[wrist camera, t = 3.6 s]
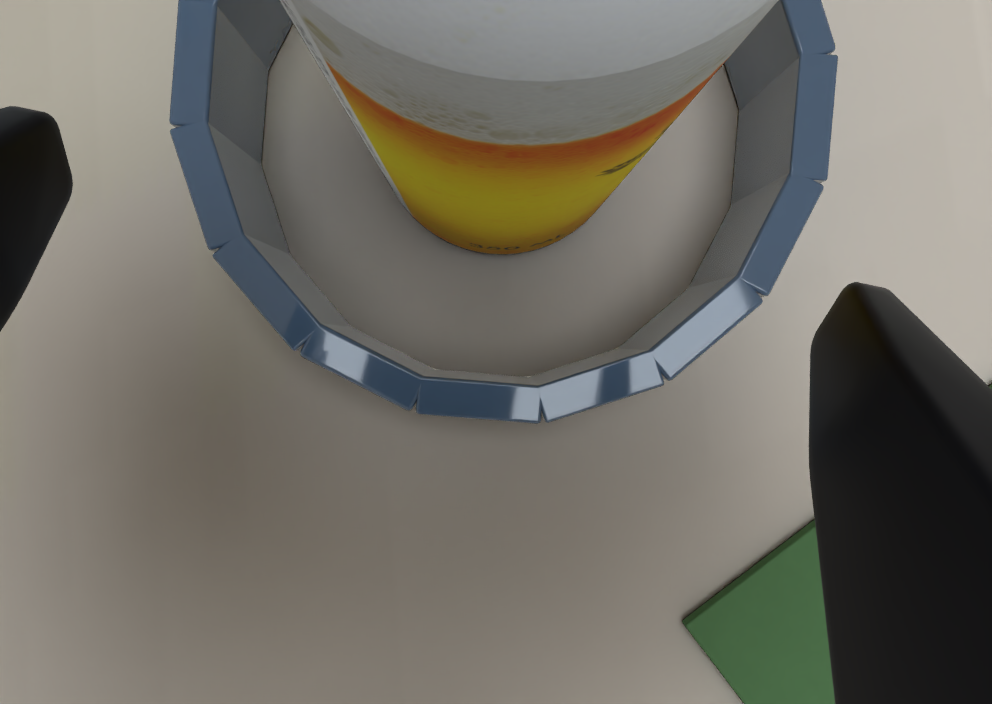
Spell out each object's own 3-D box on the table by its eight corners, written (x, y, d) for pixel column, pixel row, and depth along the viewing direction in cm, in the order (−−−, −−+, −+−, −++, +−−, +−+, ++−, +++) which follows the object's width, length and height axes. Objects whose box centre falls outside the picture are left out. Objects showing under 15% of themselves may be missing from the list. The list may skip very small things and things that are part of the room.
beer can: (658, 197, 20) (1143, -200, 5) (442, 296, 20) (327, 170, 5) (560, -20, 20) (777, -1044, 5) (342, 78, 20) (-62, -673, 5)
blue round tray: (470, 513, 20) (466, 555, 16) (122, 106, 20) (32, 48, 16) (874, 170, 20) (968, 129, 16) (531, -241, 20) (543, -385, 16)
